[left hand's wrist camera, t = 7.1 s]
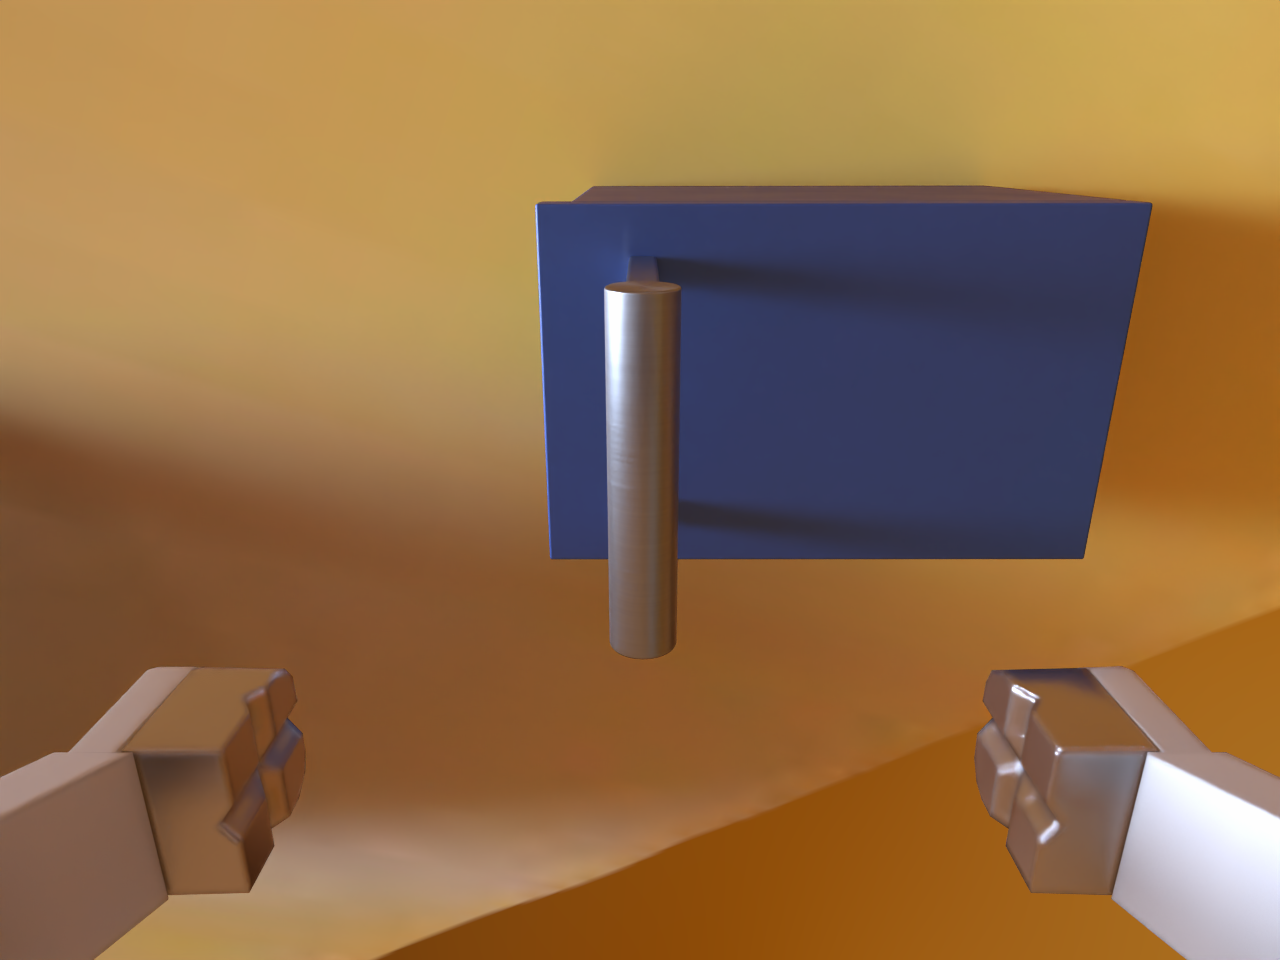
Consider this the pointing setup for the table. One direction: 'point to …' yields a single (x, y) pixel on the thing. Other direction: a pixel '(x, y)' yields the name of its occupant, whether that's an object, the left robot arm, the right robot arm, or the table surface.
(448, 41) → the table surface
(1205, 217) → the table surface
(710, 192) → the chest
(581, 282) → the lid
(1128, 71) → the table surface
